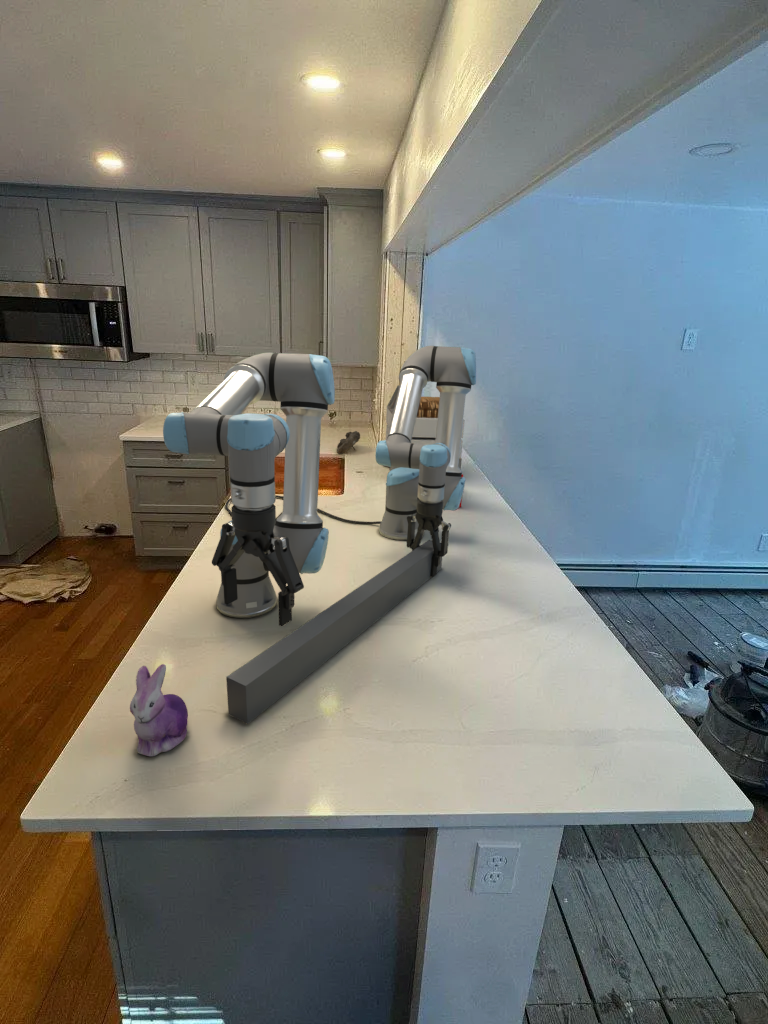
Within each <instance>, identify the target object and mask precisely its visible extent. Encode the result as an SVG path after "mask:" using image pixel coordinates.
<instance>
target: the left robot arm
mask: <svg viewBox="0 0 768 1024" xmlns="http://www.w3.org/2000/svg"><path fill="white" fill-rule="evenodd" d="M335 391H336V389H335V380H334V372H333V366H332V363H331V361H330V359H329V358H328V357H327V356H325V355H319V354H312V353H285V352H284V353H282V352H281V353H280V352H262V353H257V354H255V355H254V354H253V355H251V356H249V357H246V358H244V359H242V360H240V361H237V363H235V364H234V365H232V366H231V367H229V369H228V370H227V371H226V372H225V374H224V377H223V381H222V382H221V383H219V385H218V386H217V387H216V388H215V389H213V390H212V392H210V393H209V394H208V395H207V396H205V398H204V399H203V400H202V401H201V402H200V403H198V404H197V405H196V406H195V407H194V408H193V410H191V411H190V412H184V411H181V412H170V413H169V414H168V415H167V416H166V417H165V419H164V421H163V426H162V427H163V428H162V437H163V442H164V445H165V447H166V449H167V450H168V451H169V452H172V453H177V454H185V455H199V456H223V457H224V456H226V457H228V465H229V466H228V467H229V482H230V498H228V499H227V500H226V502H225V504H224V507H225V510H226V511H227V512H228V514H230V516H231V520H229V521H228V522H225V523H223V524H222V525H221V527H220V532H219V534H220V535H219V536H220V537H219V541H218V543H217V546H216V549H215V551H214V554H213V556H212V560H211V564H212V566H213V567H218V570H219V571H220V580H221V583H220V586H219V589H218V593H217V597H216V608H217V610H218V612H219V613H220V614H222V615H224V616H226V617H230V618H233V619H234V618H236V619H250V618H256V617H260V616H263V615H265V614H267V613H270V612H271V611H272V610H274V608H275V607H276V605H277V601H278V606H277V607H278V608H277V609H278V626H280V627H284V626H286V625H287V624H288V623H291V621H293V608H294V607H295V594H296V593H298V592H299V591H301V590H303V589H304V588H305V585H304V582H303V579H302V577H301V575H304V574H317V573H319V572H320V571H321V570H322V568H323V564H324V562H325V558H326V553H327V549H328V544H329V543H328V542H329V531H330V530H329V529H328V528H326V527H324V520H323V519H322V518H321V516H319V514H318V511H317V508H318V503H319V481H320V480H319V479H320V456H321V455H320V454H321V433H322V432H321V431H322V418H323V417H324V416H325V415H326V414H327V413H328V411H329V406H331V405H334V403H335V399H336V392H335ZM260 401H261V402H263V401H265V402H279V403H280V410H281V412H282V413H283V414H284V415H285V419H284V418H283V417H282V416H280V415H278V414H275V413H255V412H254V413H251V412H250V413H248V412H247V413H244V412H245V411H246V410H247V409H248V407H250V406H251V405H255V404H257V403H258V402H260ZM282 452H284V468H283V493H282V496H283V499H282V512H281V513H282V514H281V513H280V514H281V515H280V514H279V515H280V516H279V515H278V516H279V517H278V516H277V512H276V505H275V503H276V498H275V495H276V480H275V478H276V476H275V475H276V474H275V460H276V459H275V458H276V457H278V455H280V454H282ZM230 502H231V504H232V507H231V510H230V508H229V507H228V504H229V503H230ZM276 516H277V517H278V518H277V517H276ZM276 518H277V519H276ZM275 523H276V526H275ZM270 574H271V577H273V579H274V581H275V583H276V584H277V587H278V588H279V589H280V591H279V592H278V593H277V592H276V590H275V588H274V585H273V583H272V579H271V578H270Z"/></svg>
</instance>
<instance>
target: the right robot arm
mask: <svg viewBox="0 0 768 1024" xmlns="http://www.w3.org/2000/svg"><path fill="white" fill-rule="evenodd" d="M476 360H477V358H476V352H475V350H474V349H473V348H468V347H462V346H440V345H439V346H437V345H425V346H423V347H420V348H418V349H416V350H415V351H414V352H413V353H411V354H410V355H409V356H408V357H407V358H406V360H404V362H403V364H402V366H401V367H400V371H399V373H398V382H399V385H400V386H399V390H398V395H397V399H396V403H395V407H394V411H393V415H392V419H391V423H390V427H389V431H388V435H387V440H385V439H383V440H378V442H377V443H376V448H375V461H376V464H378V465H379V466H383V467H387V466H389V467H388V468H390V467H400V468H396V469H393V470H391V471H390V470H389V472H388V473H387V475H386V482H385V504H384V505H385V507H384V508H385V509H384V513H383V515H382V519H381V520H380V521H379V520H378V521H377V520H376V521H364V520H363V521H361V520H352V519H346V518H343V517H339V516H337V515H334V514H331V513H329V512H328V511H327V512H326V511H325V510H322V509H320V508H319V507H317V512H319V513H321V514H323V515H325V516H328V517H330V518H333V519H335V520H338V521H341V522H345V523H350V524H358V525H378V533H379V534H380V535H381V536H382V537H385V538H387V539H389V540H395V541H406V547H407V549H408V548H409V549H411V551H413V550H414V549H416V548H417V547H419V546H420V545H421V542H422V540H423V537H424V535H425V531H428V532H429V535H430V537H431V540H432V543H433V550H434V555H433V556H432V562H431V575H430V577H431V578H434V577H435V576H436V575H437V574H438V572H437V567H438V566H439V565H440V560H441V557H442V558H443V557H445V556H446V555H447V554H448V552H449V550H448V549H449V539H450V537H449V536H450V530H451V528H452V523H450V522H446V521H444V518H443V511H456V510H458V509H459V508H460V507H459V505H460V502H461V498H462V499H463V494H464V490H465V484H466V480H467V479H466V477H465V476H463V477H462V474H463V471H462V469H461V470H460V469H459V467H458V463H459V454H460V444H461V440H462V438H461V435H462V425H463V419H464V417H465V416H464V414H465V406H466V397H467V394H469V393H470V392H471V391H472V386H475V385H476V384H477V362H476ZM428 382H430V383H436V384H435V385H436V386H435V388H436V389H437V391H438V392H439V397H440V399H439V409H438V419H437V429H436V439H435V444H431V445H425V444H414V443H411V440H412V435H413V431H414V426H415V422H416V417H417V412H418V408H419V403H420V399H421V397H422V395H423V389H425V388H426V386H427V384H428ZM275 499H282V500H283V495H277V494H275ZM461 503H462V502H461ZM440 526H441V529H440V528H439V527H440ZM440 530H441V537H440V533H439V532H440ZM440 543H441V545H440Z"/></svg>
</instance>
